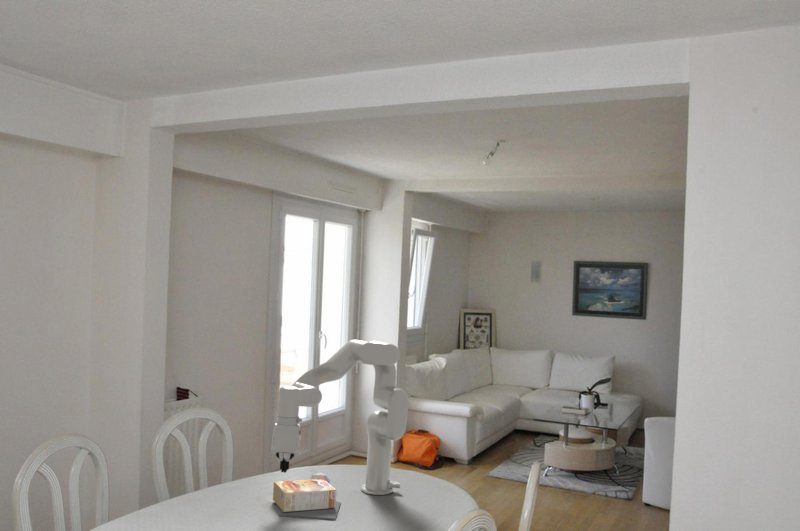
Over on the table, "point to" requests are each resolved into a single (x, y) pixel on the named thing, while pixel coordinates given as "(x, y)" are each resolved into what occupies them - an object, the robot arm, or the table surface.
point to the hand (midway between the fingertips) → (284, 471)
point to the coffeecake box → (304, 495)
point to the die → (320, 477)
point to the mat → (314, 513)
